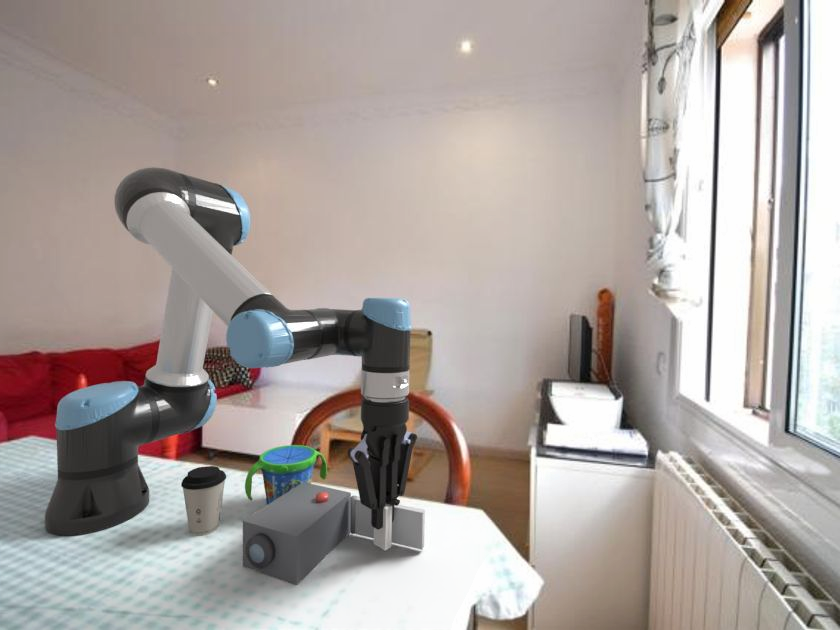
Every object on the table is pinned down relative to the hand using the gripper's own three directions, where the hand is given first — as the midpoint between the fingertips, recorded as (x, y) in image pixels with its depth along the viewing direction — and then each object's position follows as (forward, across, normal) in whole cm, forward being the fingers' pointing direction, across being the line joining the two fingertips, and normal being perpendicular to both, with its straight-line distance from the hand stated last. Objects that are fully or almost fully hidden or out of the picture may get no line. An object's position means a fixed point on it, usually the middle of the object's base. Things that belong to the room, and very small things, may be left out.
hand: (382, 544), depth 63 cm
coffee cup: (+2, -16, +28) cm, 32 cm away
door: (+1, +3, +2) cm, 3 cm away
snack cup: (+2, -2, +24) cm, 25 cm away
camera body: (+2, -8, +11) cm, 13 cm away
